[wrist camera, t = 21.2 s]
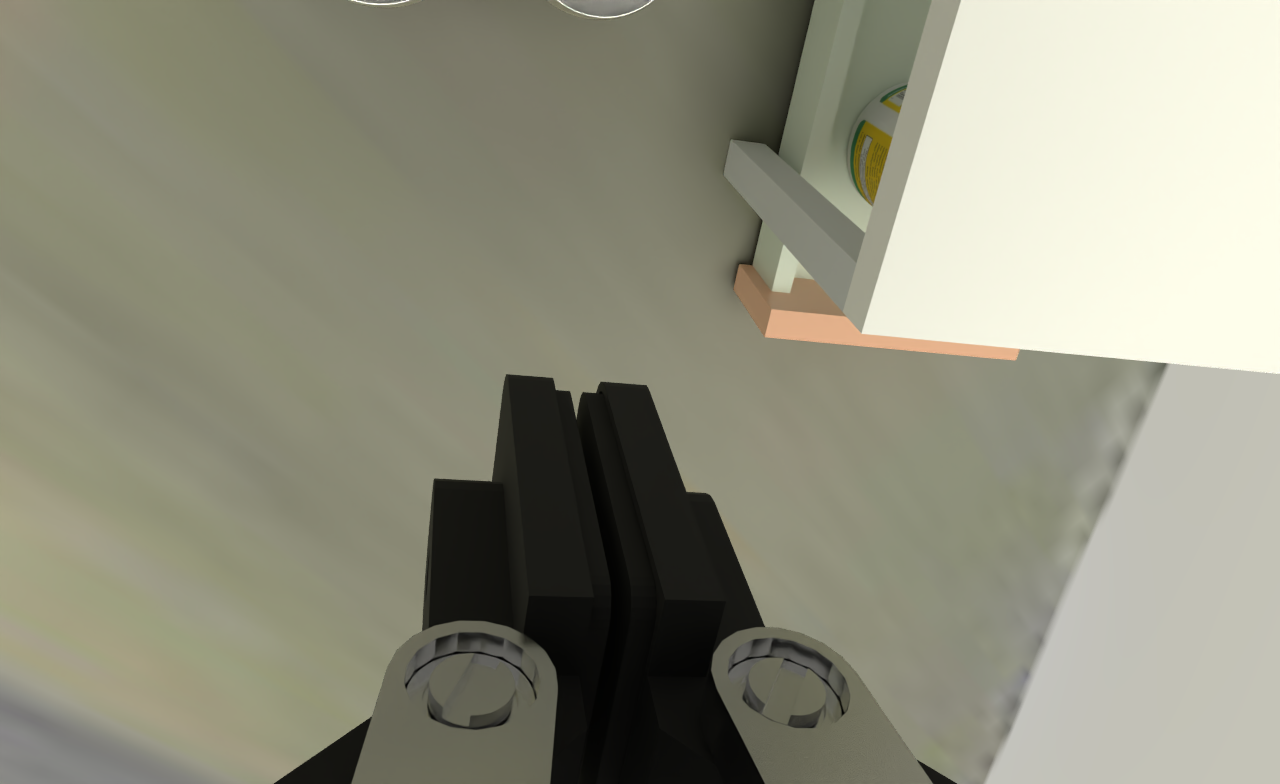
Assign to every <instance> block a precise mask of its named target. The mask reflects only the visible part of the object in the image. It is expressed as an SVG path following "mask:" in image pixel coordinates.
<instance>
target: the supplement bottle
mask: <svg viewBox="0 0 1280 784" xmlns="http://www.w3.org/2000/svg"><path fill="white" fill-rule="evenodd" d="M907 85H908V82H905V83H901V84H898V85H895V86H893V87H891V88H889V89H887V90H886V91H884V92H883V93H881V94H880V95H878V96H877V97H876V98H875V99H873V100H872V101H871V102H870V103H869V104H868V105H867V106H866V108H865V109H864V110H863V111H862V113H861V114H860V116H859V117H858V119H857V121H856V123H855V125H854V127H853V129H852V132H851V136H850V140H849V144H848V155H847V163H848V171H849V175H850V178H851V181H852V183H853V185H854V187H855V188H856V190H857V192H858V193H859V194H860V195H861V196H862V197H863V198H864V199H865V200H866V201H867V202H868V203H869V204H870V205H871V206H872V207H873V204H874V201H875V197H876V194H877V190H878V187H879V183H880V180H881V176H882V173H883V169H884V166H885V162H886V159H887V155H888V152H889V148H890V145H891V141H892V138H893V134H894V131H895V127H896V124H897V120H898V117H899V113H900V110H901V106H902V103H903V99H904V96H905V92H906V89H907Z"/></svg>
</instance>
